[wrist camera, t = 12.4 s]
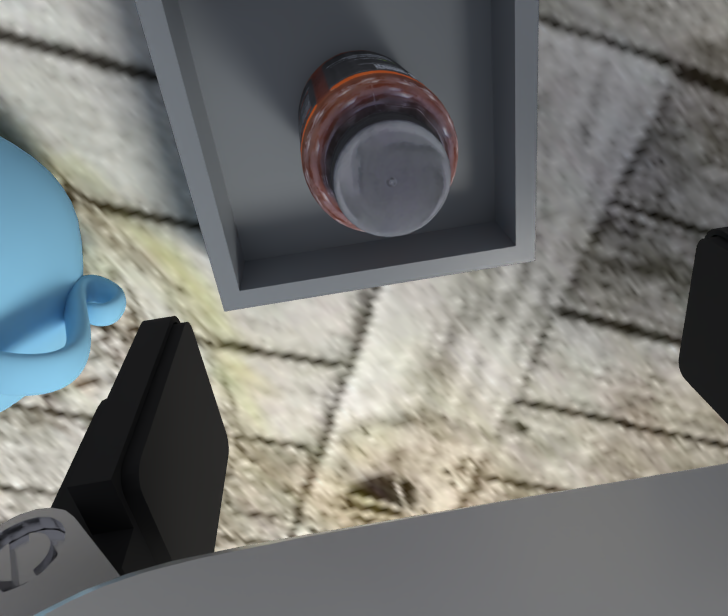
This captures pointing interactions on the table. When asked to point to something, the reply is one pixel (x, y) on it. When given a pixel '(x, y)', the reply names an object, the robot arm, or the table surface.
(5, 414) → the table surface
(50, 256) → the decorative pot
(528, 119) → the tray
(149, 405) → the robot arm
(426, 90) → the supplement bottle
